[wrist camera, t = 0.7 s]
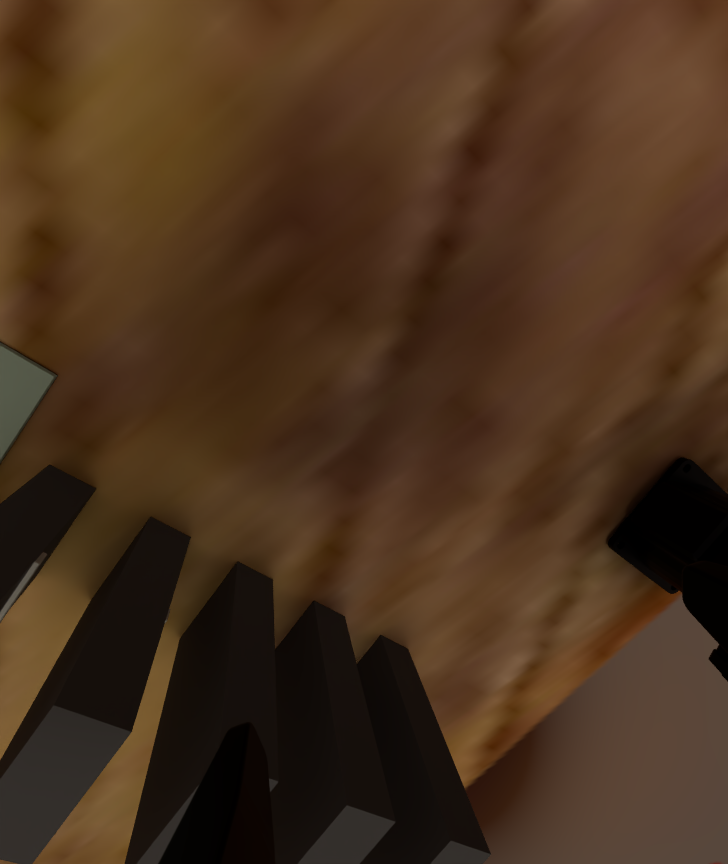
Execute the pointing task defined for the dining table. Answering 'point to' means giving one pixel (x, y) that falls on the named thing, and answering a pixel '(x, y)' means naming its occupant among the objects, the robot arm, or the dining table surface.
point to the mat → (19, 393)
